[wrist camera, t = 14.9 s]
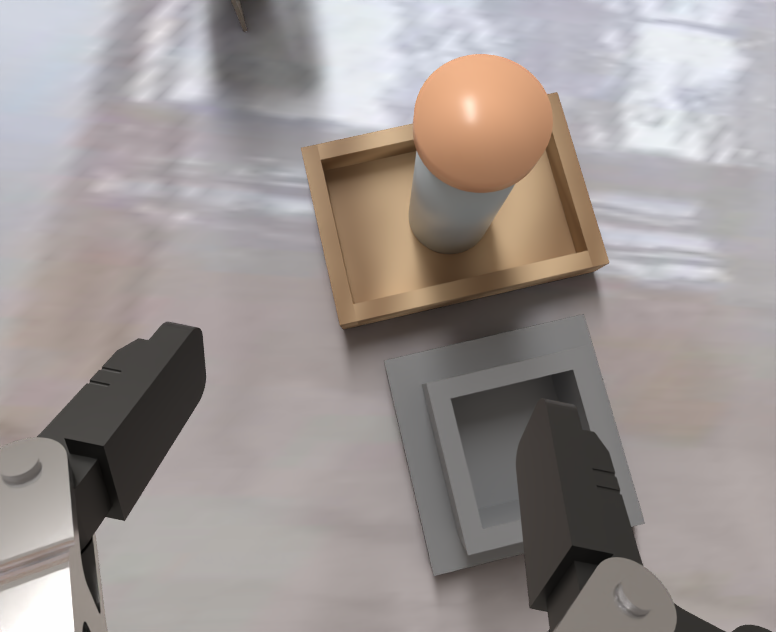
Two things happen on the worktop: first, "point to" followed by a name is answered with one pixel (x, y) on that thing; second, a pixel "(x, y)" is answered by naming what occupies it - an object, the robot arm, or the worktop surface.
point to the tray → (429, 268)
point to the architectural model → (239, 13)
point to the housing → (492, 431)
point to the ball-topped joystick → (473, 146)
